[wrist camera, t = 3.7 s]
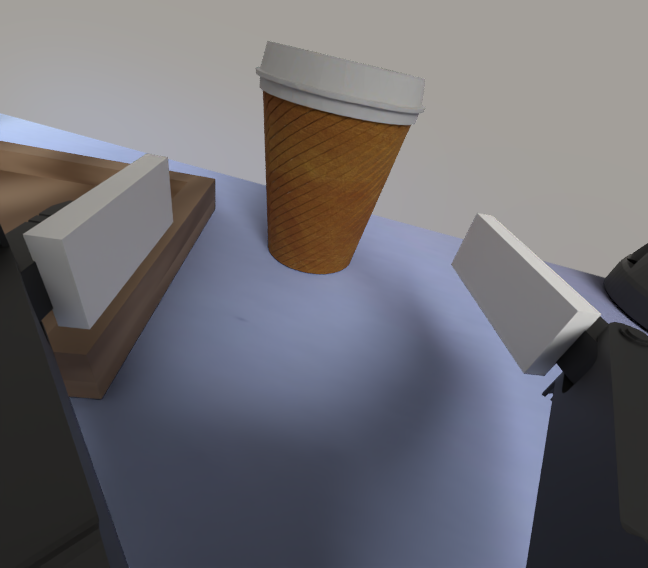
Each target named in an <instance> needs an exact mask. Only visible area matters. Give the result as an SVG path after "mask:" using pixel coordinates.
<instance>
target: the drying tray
mask: <svg viewBox="0 0 648 568" xmlns="http://www.w3.org/2000/svg"><path fill="white" fill-rule="evenodd" d="M128 165H130V164H128V163H122V162H117V161H111V160H105V159H100V158H94V157H88V156H83V155H77V154H71V153H66V152H60V151H54V150H49V149H43V148H37V147H32V146H26V145H20V144H15V143H9V142H4V141H0V224H1V227H2V229H3V231H4V234H6V233H8V232H10V231H11V230H13V229H14V228H16V227H18V226H19V225H21V224H23V223H24V222H28V220H29V219H31V218H32V217H34V216H36V215H39V213H41V212H42V211H44V210H45V209H47V208H49V207H50V206H52V205H56V204H59V203H62V202H66V201H69V200H71V201H75V200H76V199H78V198H79V197H81V196H82V195H84V194H85V193H87V192H88V191H90V190H91V189H93V188H95V187H96V186H98V185H99V184H101V183H102V182H104V181H105V180H107V179H108V178H110V177H111V176H113V175H114V174H116V173H118V172H119V171H121V170H122V169H124V168H125V167H127V166H128ZM169 177H170V189H171V201H172V213H173V223H172V224H171V226H170V227H169V228H168V229H167V231H166V232H165V233H164V235H163V236H162V237H161V238H160V240H159V241H158V242H157V244H156V245H155V246H154V247H153V249H152V250H151V251H150V253H149V254H148V255H147V257H146V258H145V259H144V260H143V262H142V263H141V264H140V266H139V267H138V268H137V269H136V271H135V272H134V273H133V275H132V276H131V277H130V278H129V280H128V281H127V282H126V284H125V285H124V286H123V287H122V289H121V290H120V291H119V293H118V294H117V295H116V296H115V298H114V299H113V300H112V302H111V303H110V304H109V306H108V307H107V308H106V309H105V311H104V312H103V313H102V315H101V316H100V317H99V318H98V320H97V321H96V322H95V324H94V325H93V326H92V327H91V329H81V328H72V327H62V326H58V323H57V321H56V318H55V316H54V313H53V311H52V310H51V311H50V312H49V313H48V314H47V315H46V316H45V317H44V318H43V319H42V323H43V325H44V327H45V330H46V333H47V335H48V338H49V341H50V344H51V347H52V350H53V353H54V355H55V358H56V361H57V364H58V367H59V370H60V373H61V375H62V378H63V381H64V384H65V387H66V390H67V393H68V395H69V397H81V398H94V399H102V398H103V396H104V394H105V393H106V391H107V389H108V388H109V386H110V384H111V383H112V381H113V379H114V378H115V376H116V374H117V373H118V371H119V369H120V368H121V366H122V364H123V362H124V361H125V359H126V357H127V356H128V354H129V352H130V351H131V349H132V347H133V346H134V344H135V342H136V341H137V339H138V337H139V336H140V334H141V332H142V331H143V329H144V327H145V326H146V324H147V322H148V321H149V319H150V317H151V316H152V314H153V312H154V310H155V309H156V307H157V305H158V304H159V302H160V300H161V299H162V297H163V295H164V294H165V292H166V290H167V289H168V287H169V285H170V284H171V282H172V280H173V279H174V277H175V275H176V274H177V272H178V270H179V269H180V267H181V265H182V264H183V262H184V260H185V259H186V257H187V255H188V253H189V252H190V250H191V248H192V247H193V245H194V243H195V242H196V240H197V238H198V237H199V235H200V233H201V232H202V230H203V228H204V227H205V225H206V223H207V222H208V220H209V218H210V217H211V215H212V213H213V212H214V210H215V179H213V178H207V177H201V176H196V175H190V174H184V173H179V172H173V171H169Z"/></svg>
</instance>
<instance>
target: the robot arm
mask: <svg viewBox="0 0 648 568" xmlns="http://www.w3.org/2000/svg"><path fill="white" fill-rule="evenodd" d="M172 223H173V213H172V201H171V189H170V177H169V165H168V157H163V156H158V155H152V154H145V155H144V156H142V157H141V158H139V159H138V160H136V161H134V162H133V163H131V164H130V165H128V166H127V167H125V168H124V169H122V170H121V171H119V172H118V173H116V174H114V175H113V176H111V177H110V178H108V179H107V180H105V181H104V182H102V183H101V184H99V185H98V186H96V187H95V188H93V189H91V190H90V191H88V192H87V193H85V194H84V195H82V196H81V197H79V198H78V199H76V200H75V201H71V200H69V201H66V202H62V203H59V204H56V205H52V206H50V207H49V208H47V209H45V210H44V211H42V212H41V213H39V215H36V216H34V217H32V218H31V219H29V220H28V222H24V223H23V224H21V225H19V226H18V227H16V228H14V229H13V230H11V231H10V232H8V233H6V234H4V231H3V229H2V227H1V224H0V568H129V567H128V564H127V561H126V558H125V556H124V553H123V550H122V547H121V544H120V541H119V538H118V536H117V533H116V530H115V527H114V524H113V521H112V518H111V515H110V513H109V510H108V507H107V504H106V501H105V498H104V495H103V493H102V490H101V487H100V484H99V481H98V478H97V475H96V473H95V470H94V467H93V464H92V461H91V458H90V455H89V453H88V450H87V447H86V444H85V441H84V438H83V435H82V433H81V430H80V427H79V424H78V421H77V418H76V415H75V413H74V410H73V407H72V404H71V401H70V398H69V395H68V393H67V390H66V387H65V384H64V381H63V378H62V375H61V373H60V370H59V367H58V364H57V361H56V358H55V355H54V353H53V350H52V347H51V344H50V341H49V338H48V335H47V333H46V330H45V327H44V325H43V323H42V319H43V318H44V317H45V316H46V315H47V314H48V313H49V312H50V311H51V310H52V311H53V313H54V316H55V318H56V321H57V323H58V326H62V327H72V328H81V329H91V327H92V326H93V325H94V324H95V322H96V321H97V320H98V318H99V317H100V316H101V315H102V313H103V312H104V311H105V309H106V308H107V307H108V306H109V304H110V303H111V302H112V300H113V299H114V298H115V296H116V295H117V294H118V293H119V291H120V290H121V289H122V287H123V286H124V285H125V284H126V282H127V281H128V280H129V278H130V277H131V276H132V275H133V273H134V272H135V271H136V269H137V268H138V267H139V266H140V264H141V263H142V262H143V260H144V259H145V258H146V257H147V255H148V254H149V253H150V251H151V250H152V249H153V247H154V246H155V245H156V244H157V242H158V241H159V240H160V238H161V237H162V236H163V235H164V233H165V232H166V231H167V229H168V228H169V227H170V226H171V224H172ZM451 265H452V266H453V268H454V269H455V271H456V272H457V274H458V275H459V277H460V278H461V280H462V281H463V283H464V284H465V286H466V287H467V289H468V290H469V292H470V293H471V295H472V297H473V298H474V300H475V301H476V303H477V304H478V306H479V307H480V309H481V310H482V312H483V313H484V315H485V316H486V318H487V319H488V321H489V322H490V324H491V325H492V327H493V328H494V330H495V331H496V333H497V334H498V336H499V337H500V339H501V340H502V342H503V343H504V345H505V346H506V348H507V349H508V351H509V352H510V354H511V355H512V357H513V358H514V360H515V361H516V363H517V364H518V366H519V367H520V369H521V370H522V372H523V373H524V374H531V375H541V376H545V375H546V374H547V372H548V371H549V370H550V369H551V368H552V367H553V366H554V365H555V364H556V363H557V364H558V366H559V367H560V368H561V370H562V371H563V372H562V373H561V374H560V375H559V376H558V377H557V378H556V379H555V380H554V381H553V382H552V383H551V384H550V386H549V387H548V388H547V389H546V390H545V391H544V392H543V393H542V395H543V396H546V395H547V394H550V393H553V397H552V398H551V399H550V400H551V401H552V405H551V412H550V418H549V424H548V431H547V437H546V444H545V450H544V456H543V463H542V469H541V475H540V482H539V488H538V495H537V501H536V507H535V514H534V520H533V526H532V533H531V539H530V546H529V552H528V558H527V565H526V568H648V336H647V335H646V334H645V333H643V332H642V331H640V330H638V329H635V328H633V327H630V326H628V325H625V324H622V323H617V322H613V323H610V324H608V323H607V322H606V321H605V320H604V319H602V318H601V317H600V315H601V313H600V312H598V311H597V310H596V309H595V308H594V307H593V306H592V305H591V304H590V303H588V302H587V301H586V300H585V299H584V298H583V297H582V296H581V295H580V294H578V293H577V292H576V291H575V290H574V289H573V288H572V287H571V286H570V285H569V284H567V283H566V282H565V281H564V280H563V279H562V278H561V277H560V276H559V275H557V274H556V273H555V272H554V271H553V270H552V269H551V268H550V267H549V266H548V265H546V264H545V263H544V262H543V261H542V260H541V259H540V258H538V256H536V255H535V254H534V253H533V252H532V251H531V250H530V249H529V248H528V247H526V246H525V245H524V244H523V243H522V242H521V241H520V240H519V239H517V237H515V236H514V235H513V234H512V233H511V232H510V231H509V230H508V229H506V228H505V227H504V226H503V225H502V224H501V223H500V222H499V221H498V220H497V219H495V218H494V217H493V216H490V215H485V214H479V213H477V215H476V216H475V218H474V220H473V222H472V224H471V226H470V228H469V230H468V232H467V234H466V236H465V238H464V240H463V242H462V244H461V246H460V248H459V250H458V252H457V254H456V256H455V258H454V260H453V262H452V264H451ZM604 286H605V289H606V291H607V292H608V294H609V295H610V297H611V298H612V299H613V300H614V301H615V303H616V304H617V305H618V306H619V307H620V308H621V309H623V310H624V311H625V312H626V313H627V314H628V315H629V316H630V317H632V318H633V319H634V320H635V321H637V322H638V323H639V324H641V325H642V326H643V327H645V328H646V329H647V330H648V243H647V244H646V245H644V246H643V247H641V248H640V249H638V250H637V251H635V252H634V253H633V254H630V255H629V256H627V257H625V258H624V259H623V260H621V262H619V263H618V264H617V265H616V267H615V268H614V269H613V270H612V271H611V272H610V274H609V275H608V276H607V277H606V278H605V280H604Z"/></svg>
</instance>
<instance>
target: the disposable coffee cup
mask: <svg viewBox="0 0 648 568" xmlns="http://www.w3.org/2000/svg"><path fill="white" fill-rule="evenodd" d="M256 74H258V75H259V76H260V88H261V89H262V90H263V101H264V133H265V161H266V191H267V222H268V248H269V251H270V253H271V255H272V256H273V257H274V258H275V259H276V260H278V261H279V262H280V263H282V264H284V265H286V266H288V267H290V268H292V269H295V270H298V271H302V272H306V273H313V274H329V273H335V272H338V271H341V270H343V269H344V268H346V267H347V266H348V265H349V263H350V262H351V259H352V257H353V254H354V252H355V250H356V247H357V245H358V243H359V241H360V238H361V236H362V234H363V232H364V229H365V227H366V225H367V223H368V220H369V218H370V216H371V214H372V211H373V209H374V207H375V205H376V202H377V200H378V198H379V196H380V193H381V191H382V189H383V187H384V184H385V182H386V180H387V178H388V176H389V173H390V170H391V168H392V166H393V164H394V162H395V159H396V157H397V155H398V153H399V151H400V148H401V146H402V143H403V141H404V139H405V137H406V135H407V133H408V131H409V128H410V126H411V125H412V124H415V122H416V120H417V117H418V115H419V113H423V112H424V110H425V107H424V106H423V105H422V100H423V92H424V84H425V79H423V78H419V77H415V76H411V75H407V74H403V73H399V72H395V71H391V70H387V69H383V68H379V67H375V66H370V65H366V64H362V63H358V62H354V61H350V60H346V59H341V58H337V57H333V56H329V55H325V54H321V53H317V52H313V51H308V50H304V49H300V48H296V47H292V46H287V45H283V44H279V43H275V42H270V41H267V45H266V49H265V52H264V56H263V60H262V64H261V67H257V68H256Z"/></svg>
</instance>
